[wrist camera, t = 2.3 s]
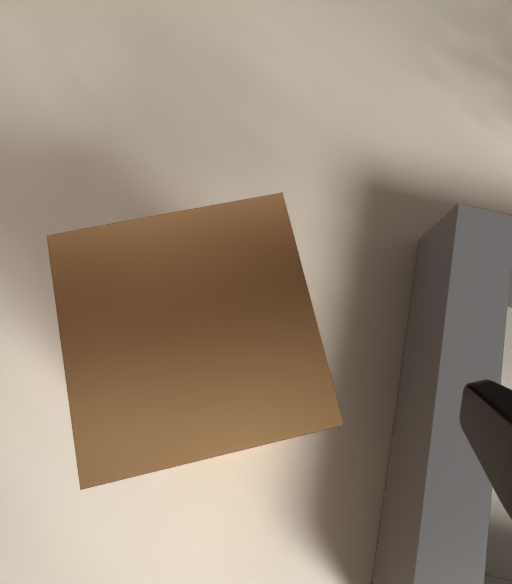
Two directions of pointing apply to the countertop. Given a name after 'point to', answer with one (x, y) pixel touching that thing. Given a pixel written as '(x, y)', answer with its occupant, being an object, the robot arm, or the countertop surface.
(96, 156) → the countertop surface
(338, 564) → the countertop surface
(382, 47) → the countertop surface
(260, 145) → the countertop surface
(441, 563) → the collar
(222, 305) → the oak block
